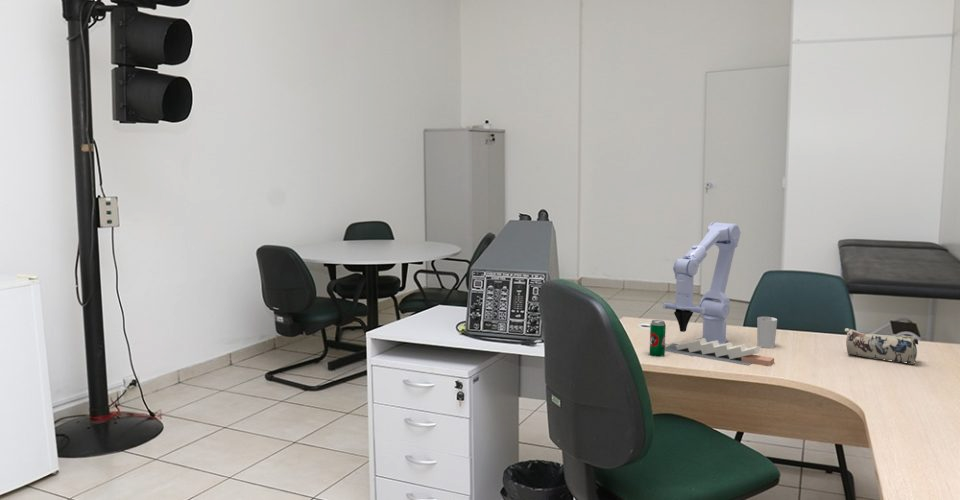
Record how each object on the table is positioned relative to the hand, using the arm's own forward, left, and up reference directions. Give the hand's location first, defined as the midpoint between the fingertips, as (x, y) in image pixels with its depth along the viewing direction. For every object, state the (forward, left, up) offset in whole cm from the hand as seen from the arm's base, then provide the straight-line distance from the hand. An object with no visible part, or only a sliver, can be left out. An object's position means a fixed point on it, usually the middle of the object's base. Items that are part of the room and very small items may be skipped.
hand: (683, 331), depth 255 cm
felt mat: (0, +9, -7) cm, 12 cm away
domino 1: (0, -1, -6) cm, 6 cm away
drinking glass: (-25, +21, -7) cm, 33 cm away
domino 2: (0, +3, -6) cm, 7 cm away
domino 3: (0, +8, -6) cm, 10 cm away
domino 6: (0, +21, -6) cm, 22 cm away
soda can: (+12, -4, -7) cm, 15 cm away
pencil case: (-32, +56, -7) cm, 65 cm away
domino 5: (0, +17, -6) cm, 18 cm away
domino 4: (0, +13, -6) cm, 14 cm away
